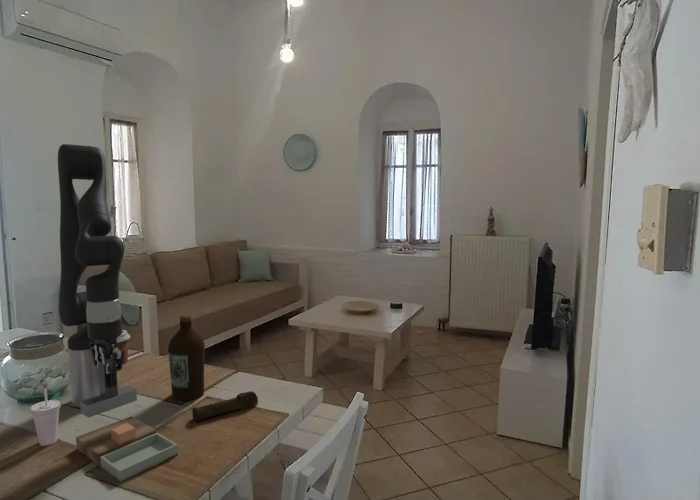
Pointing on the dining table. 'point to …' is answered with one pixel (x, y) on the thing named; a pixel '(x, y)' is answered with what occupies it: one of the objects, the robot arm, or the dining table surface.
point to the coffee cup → (123, 345)
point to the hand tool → (225, 406)
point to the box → (138, 456)
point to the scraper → (107, 396)
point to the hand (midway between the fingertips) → (108, 384)
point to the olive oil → (186, 362)
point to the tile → (123, 433)
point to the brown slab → (109, 439)
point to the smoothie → (46, 420)
